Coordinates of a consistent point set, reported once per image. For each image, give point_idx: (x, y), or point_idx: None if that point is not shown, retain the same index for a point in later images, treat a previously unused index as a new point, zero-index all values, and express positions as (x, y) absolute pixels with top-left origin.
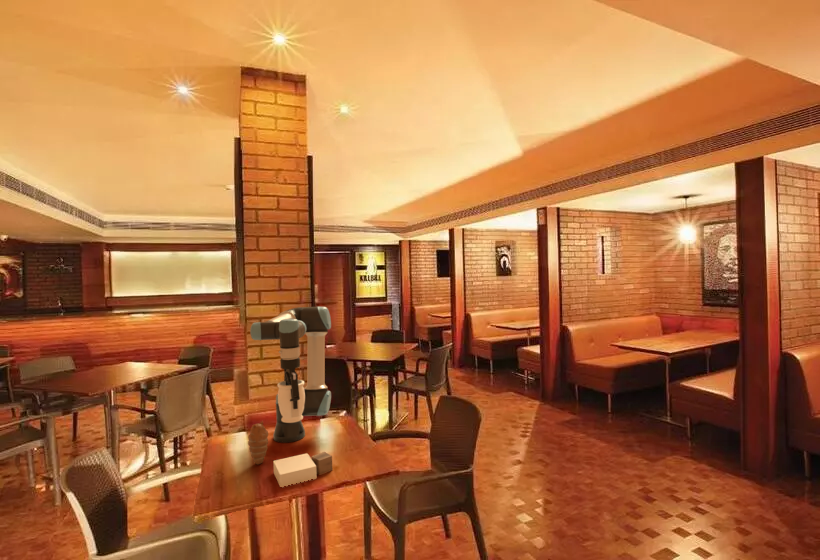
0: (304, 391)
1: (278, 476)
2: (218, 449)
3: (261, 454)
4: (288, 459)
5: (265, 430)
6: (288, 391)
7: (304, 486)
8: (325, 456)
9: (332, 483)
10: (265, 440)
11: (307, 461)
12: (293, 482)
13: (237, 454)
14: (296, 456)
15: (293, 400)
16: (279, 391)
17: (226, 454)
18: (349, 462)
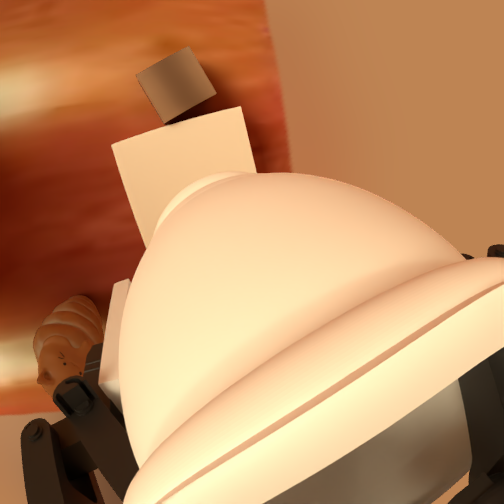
0: (361, 202)
1: None
2: (10, 402)
3: (95, 311)
4: (151, 212)
5: (55, 347)
6: (458, 399)
7: (269, 145)
8: (185, 69)
9: (276, 65)
10: (76, 325)
11: (189, 138)
12: None
13: (28, 364)
14: (131, 184)
15: None
16: (364, 477)
17: (31, 385)
18: (144, 5)
